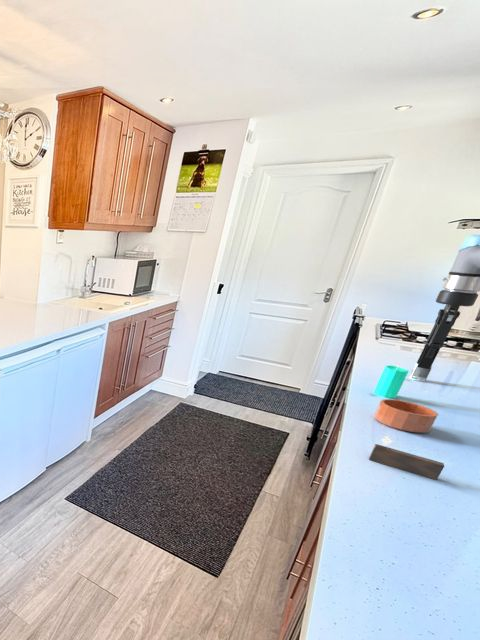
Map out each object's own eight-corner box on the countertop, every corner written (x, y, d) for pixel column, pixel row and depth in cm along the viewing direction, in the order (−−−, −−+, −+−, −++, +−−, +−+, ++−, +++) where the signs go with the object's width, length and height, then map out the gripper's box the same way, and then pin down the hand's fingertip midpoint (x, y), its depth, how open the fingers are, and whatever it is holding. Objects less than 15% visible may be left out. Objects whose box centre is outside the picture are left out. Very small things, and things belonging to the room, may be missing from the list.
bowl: (432, 428, 122) (442, 410, 120) (423, 438, 116) (433, 419, 114) (379, 413, 132) (387, 396, 130) (368, 421, 125) (376, 403, 123)
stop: (435, 477, 97) (443, 463, 95) (436, 480, 96) (444, 466, 94) (369, 456, 105) (375, 443, 103) (368, 459, 103) (375, 446, 102)
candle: (369, 390, 151) (383, 360, 146) (389, 393, 149) (403, 362, 145) (379, 396, 145) (394, 365, 141) (400, 399, 144) (415, 368, 139)
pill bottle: (428, 382, 162) (437, 362, 159) (412, 380, 164) (422, 361, 161) (420, 378, 166) (430, 359, 163) (406, 377, 168) (415, 357, 165)
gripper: (438, 286, 125) (405, 357, 134) (443, 291, 114) (406, 368, 122) (475, 290, 120) (438, 363, 129) (484, 295, 109) (442, 375, 117)
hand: (423, 365), depth 126 cm, fingers open, 4 cm apart
